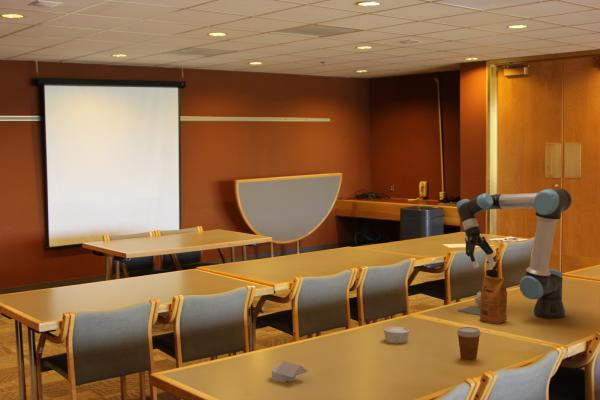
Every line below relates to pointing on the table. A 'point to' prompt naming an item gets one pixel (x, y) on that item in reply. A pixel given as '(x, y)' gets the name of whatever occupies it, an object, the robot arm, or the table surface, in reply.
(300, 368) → the grey angular block
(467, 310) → the mat
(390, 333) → the ramekin
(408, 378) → the table surface
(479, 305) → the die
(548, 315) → the robot arm
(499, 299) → the coffee package
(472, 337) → the disposable coffee cup
